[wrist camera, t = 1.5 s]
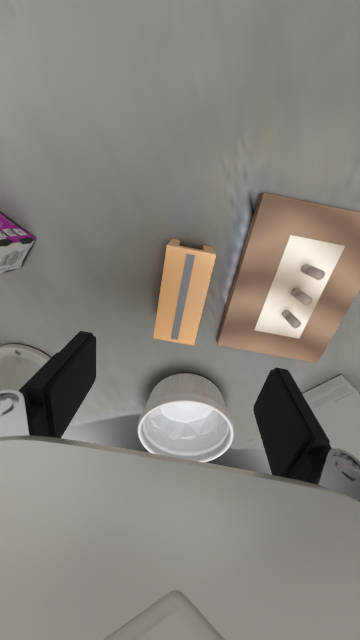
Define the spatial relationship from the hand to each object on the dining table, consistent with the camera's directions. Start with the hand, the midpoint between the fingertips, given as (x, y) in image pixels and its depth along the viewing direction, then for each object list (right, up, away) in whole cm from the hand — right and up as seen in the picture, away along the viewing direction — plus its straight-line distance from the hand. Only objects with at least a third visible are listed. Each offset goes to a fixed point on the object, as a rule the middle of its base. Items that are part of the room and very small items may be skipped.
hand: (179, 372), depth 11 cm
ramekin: (+1, -10, +24) cm, 26 cm away
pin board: (+14, +7, +15) cm, 22 cm away
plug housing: (0, +7, +16) cm, 17 cm away
